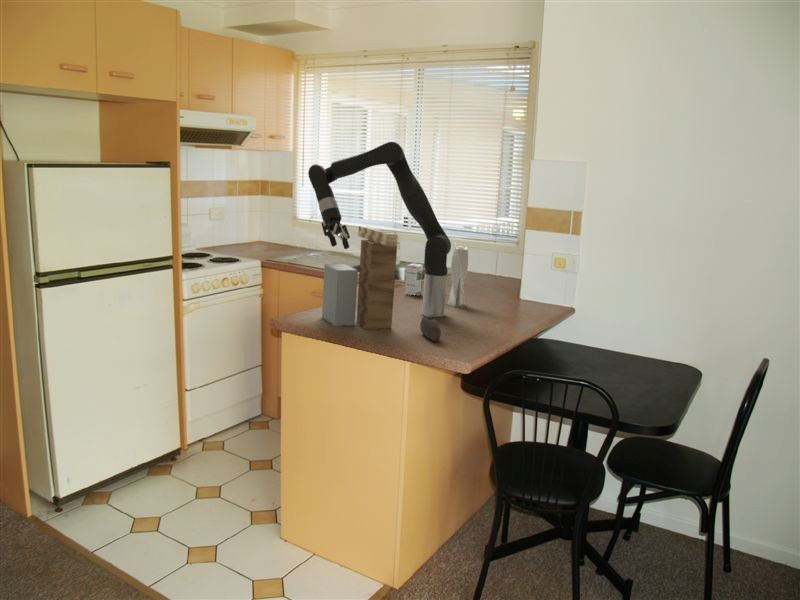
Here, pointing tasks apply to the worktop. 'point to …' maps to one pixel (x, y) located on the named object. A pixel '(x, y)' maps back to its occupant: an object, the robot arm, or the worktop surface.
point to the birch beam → (378, 235)
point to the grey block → (339, 294)
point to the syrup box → (414, 279)
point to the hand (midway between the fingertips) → (340, 247)
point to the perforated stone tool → (430, 328)
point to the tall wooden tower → (376, 285)
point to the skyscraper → (458, 276)
